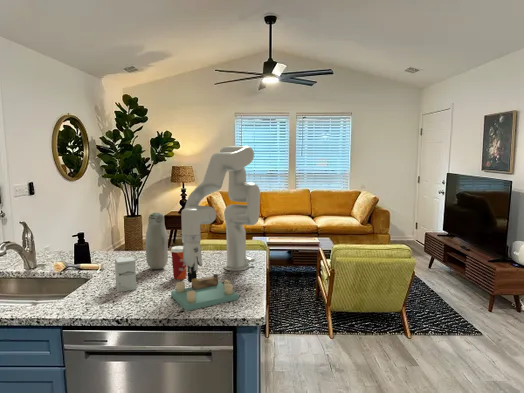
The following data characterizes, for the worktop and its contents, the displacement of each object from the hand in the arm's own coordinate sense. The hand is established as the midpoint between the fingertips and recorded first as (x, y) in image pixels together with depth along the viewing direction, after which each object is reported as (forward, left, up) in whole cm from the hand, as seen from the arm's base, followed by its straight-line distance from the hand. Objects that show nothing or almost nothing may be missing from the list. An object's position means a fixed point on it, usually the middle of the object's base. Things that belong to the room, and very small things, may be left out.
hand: (192, 281), depth 152 cm
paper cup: (-1, -17, -3) cm, 17 cm away
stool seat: (-1, +12, -3) cm, 12 cm away
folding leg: (-3, +6, -1) cm, 7 cm away
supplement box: (+23, -15, -3) cm, 28 cm away
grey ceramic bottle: (+4, -36, -3) cm, 37 cm away
